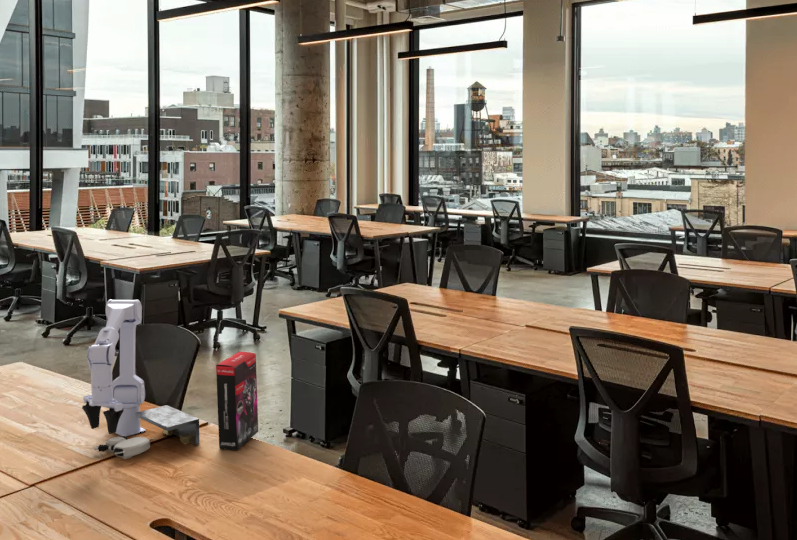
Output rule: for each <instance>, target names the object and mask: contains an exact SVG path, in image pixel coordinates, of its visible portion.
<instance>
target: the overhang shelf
mask: <svg viewBox="0 0 797 540" xmlns="http://www.w3.org/2000/svg"><path fill="white" fill-rule="evenodd" d="M136 417H138V418H140V420H143V421H145V422H147V423H149V424H151V425H154V426H155V427H157V428H160V429H161V430H163V431H162V433H164V435H165V434H166V435H165V436H167V435H170V436H173V435H172V434H174V435H175V436H177V437H179V442H180V443H182V444H184V445H187V444H190V443H191V444H192V445H196V446H198V445H200V441H201V440H200V418H198V417H196V416H194V415H192V414H188V413H187V412H184V411H181V410H180V409H177V408H175V407H173V406H171V405H167V404H166V405H162V406H161V405H160V406H158V407H153V408H150V409H144V410H140V412H137V413H136Z"/></svg>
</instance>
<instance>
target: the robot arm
mask: <svg viewBox="0 0 797 540" xmlns="http://www.w3.org/2000/svg"><path fill="white" fill-rule="evenodd" d="M142 310H143V305H142V303H141V301H140V300H139V299H111V298H110V299H108V300H107V301H106V305H105V316H106V318H107V321H106V325H105V326H104V327H103V328H101V329H100V330H99V332H98V335H97V337H96V339H95V342H94V343H93V344H92V345H90V346H88V348H87V352H86V360H87V363H88V370H89V371H90V384H91V387H90V388H91V394H88V395H85V396H83V403H84V404H85V405H82V406H81V408H82V410H83V411H84V414H85V415H86V417H87V419H88V422H89V425H90V426H89V427H90V428H91V429H92V430H93V429H97V428H99V426H100V418H101V417H100V416H101V415H100V414H101V410H102V408H107V409H108V410H104V411H103V412H102V413H103V415H104V417H105V420H106V424H107V425H106V426H107V433H108V434H109V435H112V434H117V435H118V436H119V437H121V436H125V437H126V438H127V437H129V436H133V435H136V434H141V433H144V431H145V432H146V431H147V430H146V429H145V428H143V427H142V426H141V425H142V424H141V419H140V418H138V417H136V413H137V412H141V405H142V404H143V403H145V399H146V389H145V381H144V380H143V378H141V377H139V376H138V375H136V334H137V333H136V331H137V325H140V324H142V320H143V319H142V318H143V315H142V314H143V312H142ZM118 341H119V376H117V377H116V378H115V379H113V364H114V360H115V356H116V355H115V354H116V345H117V343H118ZM140 432H141V433H140Z"/></svg>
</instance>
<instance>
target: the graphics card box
mask: <svg viewBox="0 0 797 540" xmlns="http://www.w3.org/2000/svg"><path fill="white" fill-rule="evenodd" d="M215 370H216V397H217V400H216V401H217V421H218V423H217V424H218V426H217V427H218V448H219V449H220V450H226V451H228V450H229V451H238V450H240V448H242V447H243V446H244V445H245V444H246V443H247V442H248V441H250V439H252V438H253V437H254V436H255V435H256V434H257V433H258V432H259V413H258V412H259V410H258V409H259V408H258V381H257V379H258V378H257V354H256V353H255V352H250V351H239V350H238V351H237V352H236V353H234V354H233V355H230V356H228V357H227V358H226V359H224V360H222V361H220V362H218V363H216V364H215Z"/></svg>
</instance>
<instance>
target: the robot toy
mask: <svg viewBox="0 0 797 540" xmlns="http://www.w3.org/2000/svg"><path fill="white" fill-rule="evenodd" d="M155 440H157V439H156V438H155V437H154V438H151V439H149V438H147V437H143V436H142V437H141V436H138V437H137V436H136V437H135V436H134V437H131V438H128V437H127V436H126V437H125V436H114V437H111V438H109V439H108V440H105V442H104V444H99V445H98V446H95V447H93V450H94V451H98V452H106V451H108V452H109V453H111V452H112V453H111V454H114V456H116V457H120V458H121V459H125V460H127V459H131V458H132V457H134V456H137V455H139V454H142V453H144V452H147V451H148V450H149V449H150V448H151V441H155Z"/></svg>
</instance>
